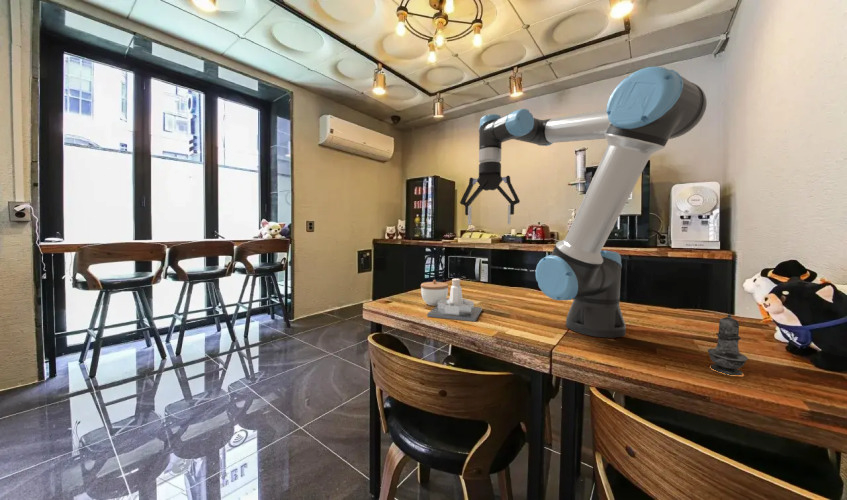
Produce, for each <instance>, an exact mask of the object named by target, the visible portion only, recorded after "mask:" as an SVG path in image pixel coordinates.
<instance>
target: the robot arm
mask: <svg viewBox="0 0 847 500" xmlns="http://www.w3.org/2000/svg"><path fill="white" fill-rule="evenodd" d="M707 103H708V101H707V96H706V94H705V92H704V90H703V88H701V87H700V86H699V85H697V84H696V83H694V82H691V81H690V80H688V79H686V77H683V76H682V75H681V74H680V73H679V72H678V71H675V70H674V69H668V68H666V67H663V66H659V65H658V66H657V65H656V66H648V67H644V68H641V69H639V70H636V71H634V72H633V73H631V74H630V75H629V76H627V77H624V79H623V80H621V82H619V83H618V84H617V86H615V89H614V90H613V91H612V93H611V94H610V96H609V98H608V101H607V104H606V109H602V110H595V111H590V112H588V111H587V112H583V113H577V114H571V115H566V116H565V115H564V116H560V117H559V116H558V117H553V118H547V119H546V118H545V119H539V118H535V117H534V115H533V114H532V112H530V110H529V109H527V108H520V109H516V110H514V111H511V112H510V113H508V114H505V115H503V116H501V115H500V114H496V113H492V114H491V113H490V114H485V115H484V116H481V118H480V119H479V129H478V134H479V135H478V136H479V139H478V143H479V144H478V147H479V148H478V149H479V150H478V163H479V164H478V178H475V177H474V178H473V177H470V178H469V180H468V181H469V182H468V185H467V187H466V189H465V191H464V194H463V195H462V197H461V200H460V201H459V203H460V205H463V206H464V215H465V216H467V225H469V226H470V225H472V208H473V207H472V206H471V204H472V203H473V202H474V201H475V200H476V198H477V197H478V196H479V195H480V194H481V193H482V192H483V190H484V191H495V190H497V191H499V193H500V194H501V195H502V196H503V197H504V199H505V200H507V202H508V205H507V225H508V226H509V225H511V219H512V218H511V217H512V216H513V215H514V214H515V205H517V204H520V202H521V201H520V198H519V196H518V194H517V193H516V191H515V190H516V189H514V186H513V184H512V182H511V181H512V180H511V176H510V175H506V176H502V163H501V162H502V145H503V144H502V143H504V142H506V141H511V140H515V141H520V142H525V143H528V144H529V143H530V144H533V145H537V146H543V147H544V146H545V147H547V146H551V145H553V144H555V143H568V142H580V141H583V142H584V141H593V140H606V142H607V146H606V149H605V151H604V154H603V155H602V157H601V159H600V162H599V164H598V166H597V168H596V171H595V172H594V175H593V177H592V179H591V181H590V184H589V186H588V188H587V190H586V193H585V195H584V197H583V199H582V202H581V204H580V206H579V208H578V210H577V212H576V214H575V217H574V219H573V221H572V222H571V225H570V228H569V230H568V232H567V234H566V236H565V238H564V239H563V240H559V241H557V242H556V244H555V245H554V247H553V249H552V252H551V253H550V255H546V256H545V257H542V258H541V259H540V260H539V261H538V263H537V264H536V268H535V279H536V280H535V281H536V282H537V283H538V284H537V285H538V288H539V289H540V290H541V292H542V293H543V294H544V295H545V296H546V297H548V298H550V299H552V300H555V301H572V300H573V301H572V303H571V305H570V307H569V310H568V313H567V316H566V319H565V327H566V328H568V329H569V330H571V331H572V332H576V333H578V334H582V335H586V336H591V337H597V338H607V339H608V338H610V339H611V338H621V337H624V336H626V333H627V332H626V331H627V326H626V322H625V320H624V316H623V313H622V310H621V305H620V298H621V280H622V279H621V278H622V267H623V264H622V256H621V254H620V253H618V252H616V251H612V250H611V251H610V250H603V247H604V246H605V244H606V242H607V240H608V238H609V236H610V234H611V232H612V231H613V229H614V227H615V225H616V223H617V220H618V219H619V217H620V216H621V213H622V211H623V209H624V208H625V206H626V203H627V201H628V200H629V198H630V195H631V194H632V192H633V191H634V188H635V186H636V184H637V183H638V181H639V178H641V175H642V173H643V171H644V169H645V168H646V165H647V163H648V162H649V159H650V158H651V156H652V155H653V154H655V153H656V152H659V151H660V150H661V151H662V150H663V149H664V148H665V147H666V145H667V143H668V141H669V140H673V139H676V138H679V137H681V136H683V135H686V134H687V133H688V132H690V131H691V130H692V129H694V128H695V127H696V126H697V125H698V124H699V123H700V122H701V120H702V119H703V117H704V115H705V112H706V109H707ZM502 182H504V184H506V185H507V186H508V189H509V191H510V193H511V195H512V197H513V199H514V200H513V199H512V198H511V197H510V196H509V195H508V193H506V191H505V190H504V189H503V188H502V186H500V185H501V183H502ZM477 183H478V187H477V188H476V190H474V192H473V193H472V195H471V196H470V197H469V195H470V193H471V192H472V189H473V187H474V185H476V184H477ZM468 197H469V198H468Z"/></svg>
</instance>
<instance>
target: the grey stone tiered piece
mask: <svg viewBox="0 0 847 500" xmlns="http://www.w3.org/2000/svg"><path fill="white" fill-rule="evenodd" d="M718 323H719V324H718V332H716V333H715V334H716V336H717V344H716V346H715V347H714V348H708V349H707V350H706V351H707V353H708V354H709V355H708V356H709V358H710V360H711V362H712V363H713V364H710V365H711V368H712V369H714V370H716V371H718V372H722V373H725V374H726V375H727V374H729V375H742V373H743V372H742V371H741V370H740V369H741V368H743V367H744V366H745V365H746V361H748V360H749V357H748V356H747V355H744V354H742V353H741V352H740V348H739V341H740V340H742V337H740V336H739V333H740V331H739V330H740V322H739V321H738V320H737V319H735V318H733V317H732V314H731V313H728V314H727V316H726V317H722V318H720V319H719V322H718ZM726 375H725V376H726Z"/></svg>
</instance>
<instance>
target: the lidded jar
mask: <svg viewBox="0 0 847 500" xmlns="http://www.w3.org/2000/svg"><path fill="white" fill-rule="evenodd" d="M420 294H421V297H422V300H423V301H424V302H425V303H426V305H427V304H428V306H433V307H434V306H435V307H436V306H437V305H438V302H439V301H440V300H441V299H448V298H447V297H448V294H449V284H448V283H446V282H441V281H437V280H436V279H433V281H427V282H422V283H421V284H420Z"/></svg>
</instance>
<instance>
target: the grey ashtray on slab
mask: <svg viewBox="0 0 847 500" xmlns="http://www.w3.org/2000/svg"><path fill="white" fill-rule="evenodd" d="M449 299H450V297H449V298H446V299H441V300H440V301H439V302H438V305H437V306H435V307H434V308H432V309H431V310H430V311H429V312H427V317H428V318H437V319H445V320H447V319H448V320H456V321H457V320H458V321H466V322H467V321H468V322H476V321H477V320H478V318H479V316H480V314H481V313H482V311H483V308H482V307H479V306H478V307H476V306H474V302H475V301H474V300H473V301H472V300H470V299H466V298H462V300H463V304H460V305H455V304H454V303H450V304H449Z"/></svg>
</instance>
